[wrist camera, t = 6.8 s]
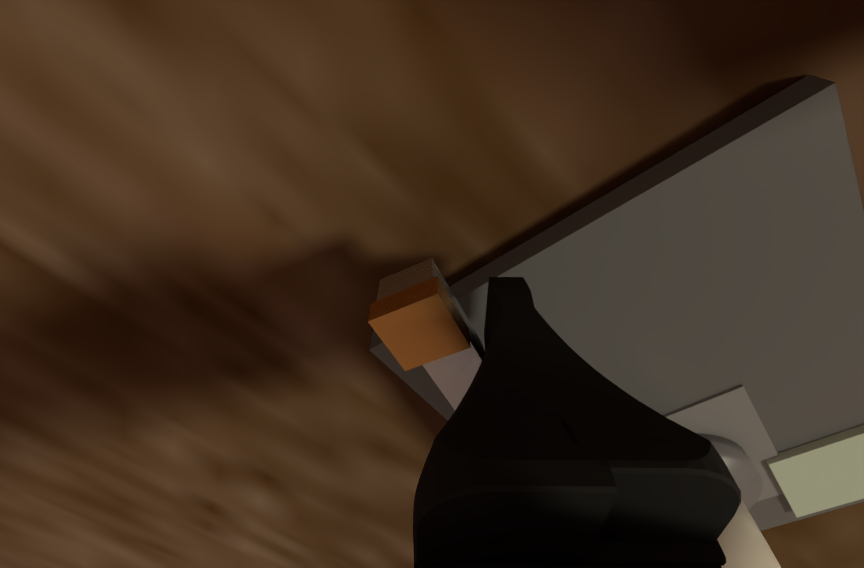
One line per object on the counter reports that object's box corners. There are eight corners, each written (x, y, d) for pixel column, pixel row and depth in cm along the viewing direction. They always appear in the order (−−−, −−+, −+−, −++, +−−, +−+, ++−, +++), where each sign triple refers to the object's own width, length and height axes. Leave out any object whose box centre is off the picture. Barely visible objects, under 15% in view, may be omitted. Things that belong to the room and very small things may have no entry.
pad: (792, 511, 21) (796, 517, 21) (764, 458, 19) (768, 464, 18) (921, 473, 19) (927, 480, 19) (907, 410, 17) (914, 416, 17)
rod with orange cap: (592, 513, 18) (604, 555, 17) (539, 525, 19) (547, 567, 18) (444, 252, 11) (445, 290, 10) (368, 284, 12) (360, 324, 11)
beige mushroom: (634, 529, 22) (687, 678, 17) (573, 471, 19) (617, 630, 14) (766, 484, 20) (866, 641, 15) (719, 412, 17) (824, 577, 12)
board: (610, 554, 25) (623, 599, 23) (372, 332, 16) (364, 379, 14) (905, 465, 20) (951, 514, 19) (808, 74, 11) (881, 96, 9)
